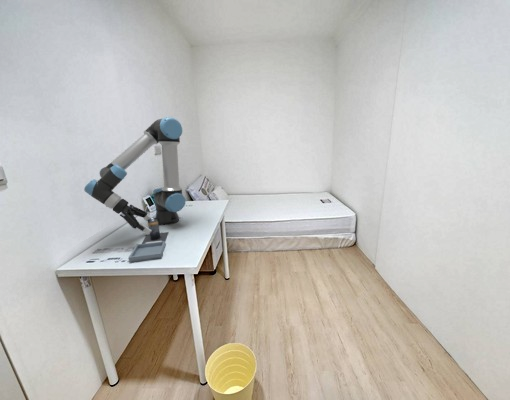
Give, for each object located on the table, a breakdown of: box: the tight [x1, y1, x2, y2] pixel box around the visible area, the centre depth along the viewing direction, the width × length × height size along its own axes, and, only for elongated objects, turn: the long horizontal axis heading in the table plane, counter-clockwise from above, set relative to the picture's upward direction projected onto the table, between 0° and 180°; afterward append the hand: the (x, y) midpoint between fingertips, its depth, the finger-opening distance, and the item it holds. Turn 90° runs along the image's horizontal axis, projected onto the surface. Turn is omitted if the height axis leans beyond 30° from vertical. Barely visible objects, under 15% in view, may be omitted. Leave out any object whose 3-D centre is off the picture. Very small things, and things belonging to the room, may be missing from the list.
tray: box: [128, 241, 167, 263], centre depth 112 cm, size 14×14×2 cm
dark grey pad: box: [141, 231, 170, 244], centre depth 128 cm, size 14×12×1 cm
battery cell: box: [146, 217, 161, 240], centre depth 126 cm, size 5×5×12 cm
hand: (152, 227), depth 126 cm, fingers open, 13 cm apart
